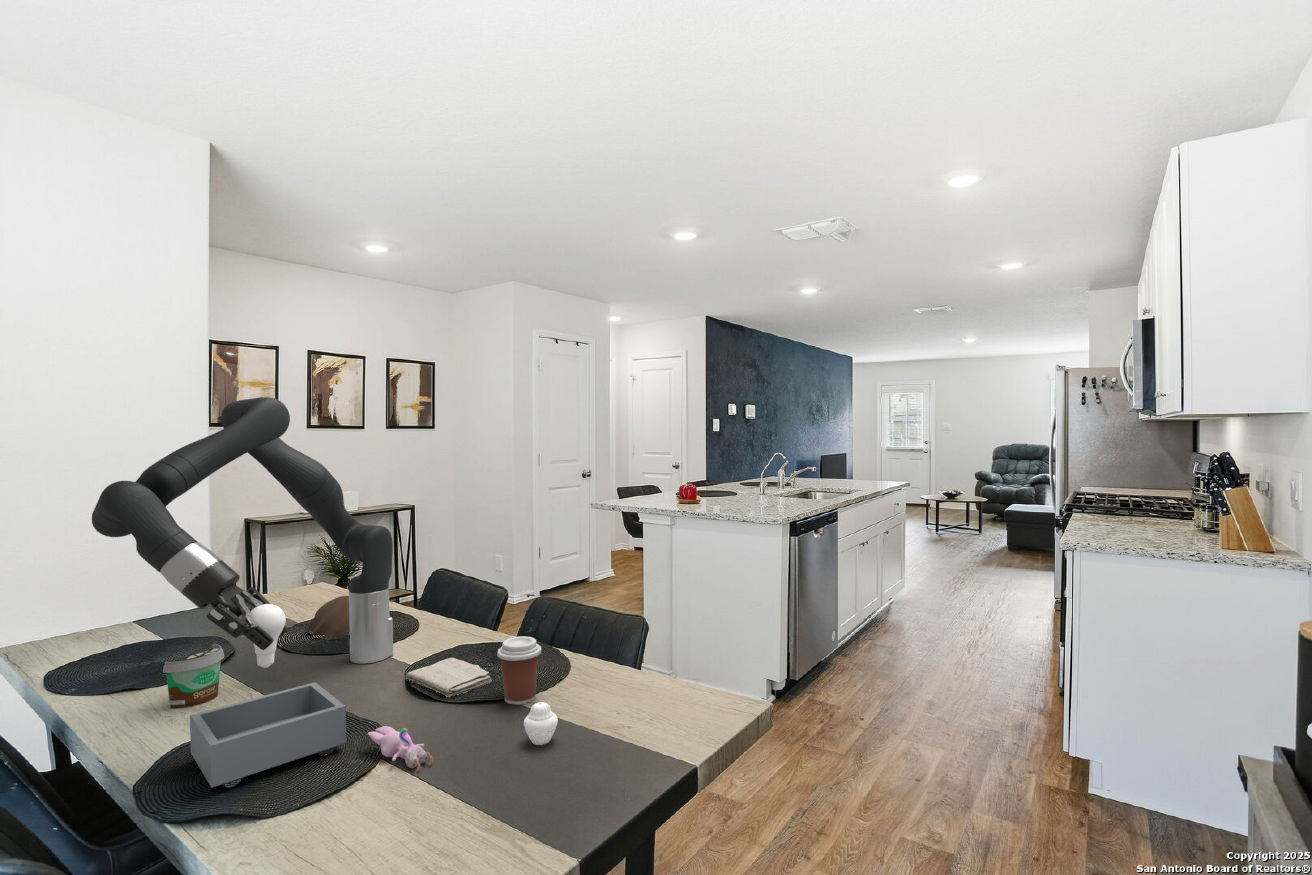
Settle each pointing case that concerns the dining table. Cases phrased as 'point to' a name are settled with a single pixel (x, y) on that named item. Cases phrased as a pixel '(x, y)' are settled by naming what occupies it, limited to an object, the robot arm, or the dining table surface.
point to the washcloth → (450, 677)
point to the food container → (194, 678)
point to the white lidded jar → (540, 723)
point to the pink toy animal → (400, 746)
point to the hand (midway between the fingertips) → (276, 639)
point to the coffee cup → (519, 669)
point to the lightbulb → (268, 630)
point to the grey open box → (266, 732)
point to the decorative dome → (332, 618)
